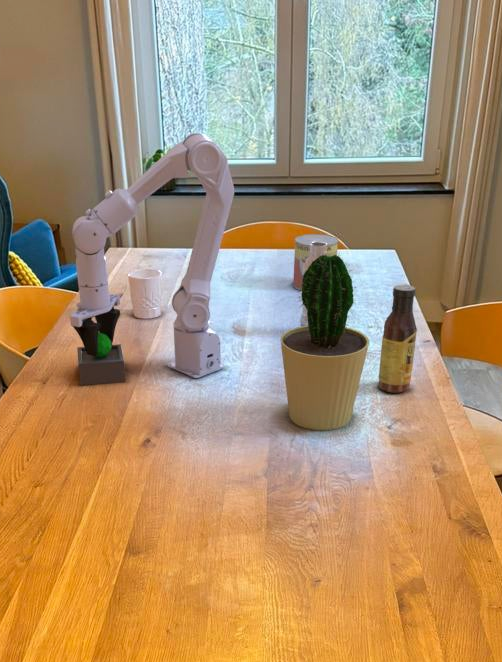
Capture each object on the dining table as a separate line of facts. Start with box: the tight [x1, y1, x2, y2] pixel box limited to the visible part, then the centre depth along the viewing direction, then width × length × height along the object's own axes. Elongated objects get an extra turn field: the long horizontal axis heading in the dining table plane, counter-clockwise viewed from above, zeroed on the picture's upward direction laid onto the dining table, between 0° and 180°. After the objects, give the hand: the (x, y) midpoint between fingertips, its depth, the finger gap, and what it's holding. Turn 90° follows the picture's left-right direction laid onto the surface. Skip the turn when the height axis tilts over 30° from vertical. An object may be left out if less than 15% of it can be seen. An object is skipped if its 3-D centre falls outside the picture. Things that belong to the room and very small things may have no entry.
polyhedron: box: [94, 333, 113, 358], centre depth 160 cm, size 5×5×5 cm
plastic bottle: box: [299, 242, 327, 327], centre depth 177 cm, size 6×7×20 cm
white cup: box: [127, 268, 163, 320], centre depth 191 cm, size 8×8×10 cm
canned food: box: [292, 233, 340, 291], centre depth 209 cm, size 11×11×12 cm
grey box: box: [76, 343, 127, 386], centre depth 162 cm, size 9×9×5 cm
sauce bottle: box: [378, 284, 418, 394], centre depth 151 cm, size 6×6×20 cm
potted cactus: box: [280, 251, 370, 431], centre depth 138 cm, size 15×15×30 cm
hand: (99, 349), depth 160 cm, fingers closed on polyhedron, 5 cm apart
